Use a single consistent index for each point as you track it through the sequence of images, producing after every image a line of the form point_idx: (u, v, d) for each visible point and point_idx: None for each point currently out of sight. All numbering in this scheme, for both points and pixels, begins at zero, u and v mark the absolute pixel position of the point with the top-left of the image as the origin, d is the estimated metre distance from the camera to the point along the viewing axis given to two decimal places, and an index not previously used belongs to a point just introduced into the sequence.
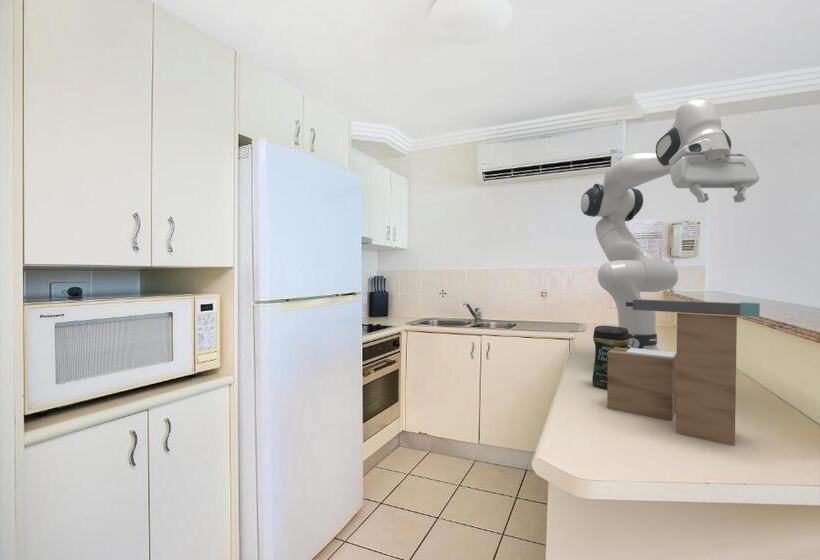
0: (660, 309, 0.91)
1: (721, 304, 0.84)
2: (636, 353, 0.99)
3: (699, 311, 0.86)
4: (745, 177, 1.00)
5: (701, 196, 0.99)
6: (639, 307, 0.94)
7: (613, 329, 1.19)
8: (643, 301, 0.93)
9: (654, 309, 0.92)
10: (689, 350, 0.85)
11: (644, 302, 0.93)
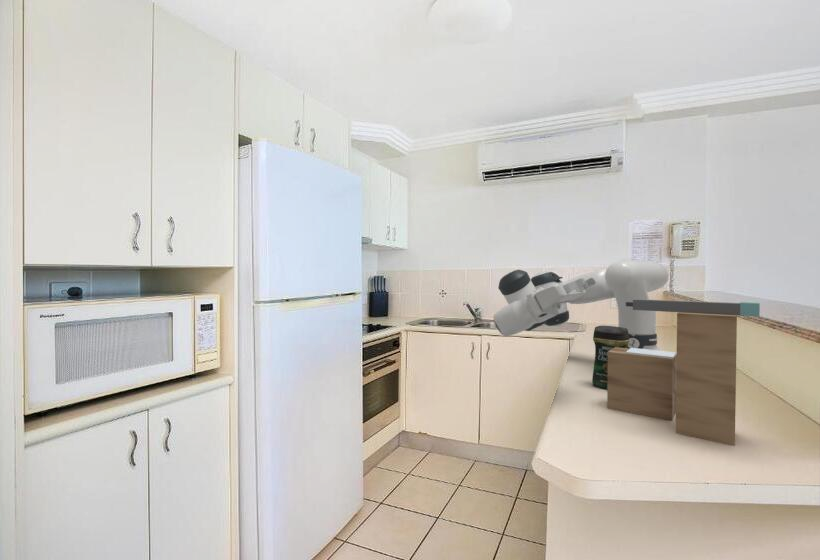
0: (660, 309, 0.91)
1: (721, 304, 0.84)
2: (636, 353, 0.99)
3: (699, 311, 0.86)
4: None
5: (578, 280, 1.02)
6: (639, 307, 0.94)
7: (613, 329, 1.19)
8: (643, 301, 0.93)
9: (654, 309, 0.92)
10: (689, 350, 0.85)
11: (644, 302, 0.93)
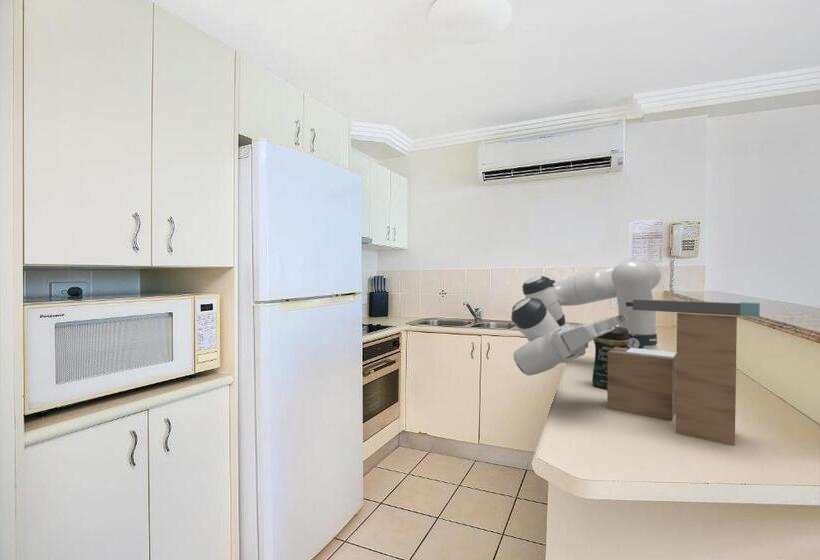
0: (660, 309, 0.91)
1: (721, 304, 0.84)
2: (636, 353, 0.99)
3: (699, 311, 0.86)
4: None
5: (609, 319, 0.93)
6: (639, 307, 0.94)
7: None
8: (643, 301, 0.93)
9: (654, 309, 0.92)
10: (689, 350, 0.85)
11: (644, 302, 0.93)
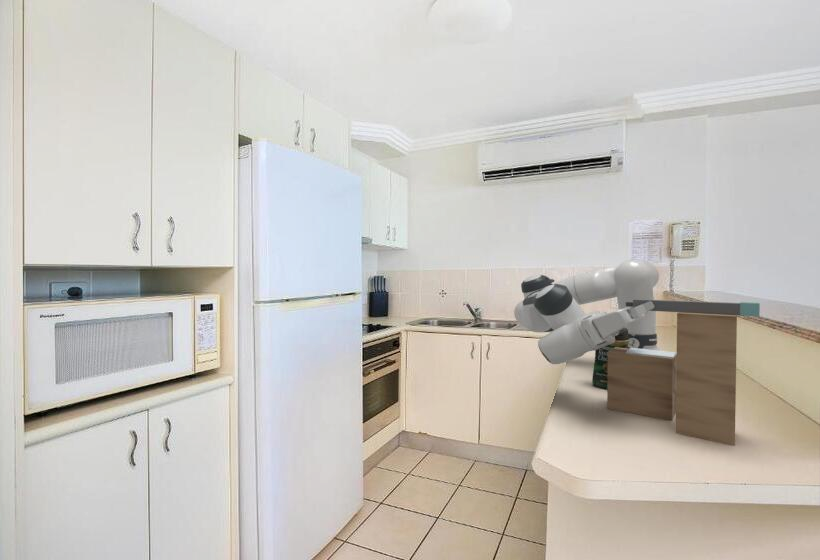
0: (660, 309, 0.91)
1: (721, 304, 0.84)
2: (636, 353, 0.99)
3: (699, 311, 0.86)
4: None
5: (646, 304, 0.91)
6: None
7: None
8: (643, 301, 0.93)
9: (654, 309, 0.92)
10: (689, 350, 0.85)
11: (644, 302, 0.93)
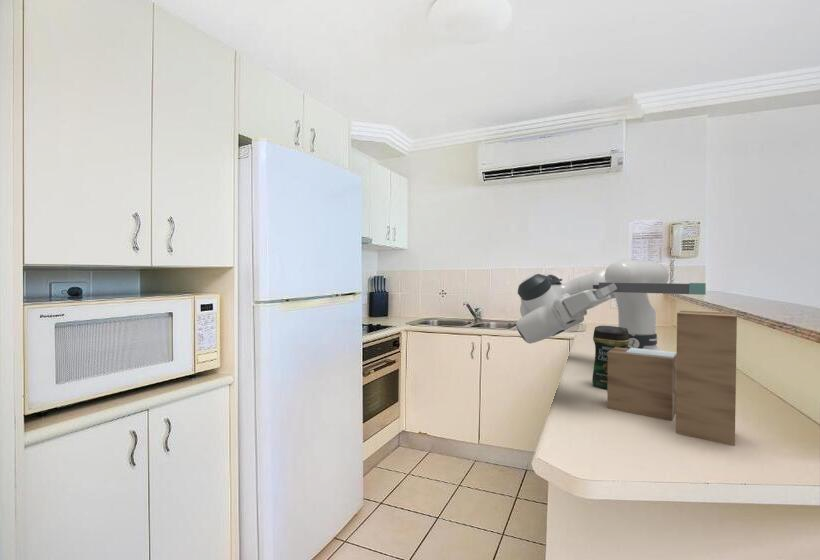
0: (622, 290, 1.02)
1: (673, 284, 0.95)
2: (636, 353, 0.99)
3: (655, 291, 0.97)
4: None
5: (610, 285, 1.02)
6: None
7: (613, 329, 1.19)
8: (607, 283, 1.04)
9: (617, 290, 1.03)
10: (689, 350, 0.85)
11: (608, 284, 1.04)
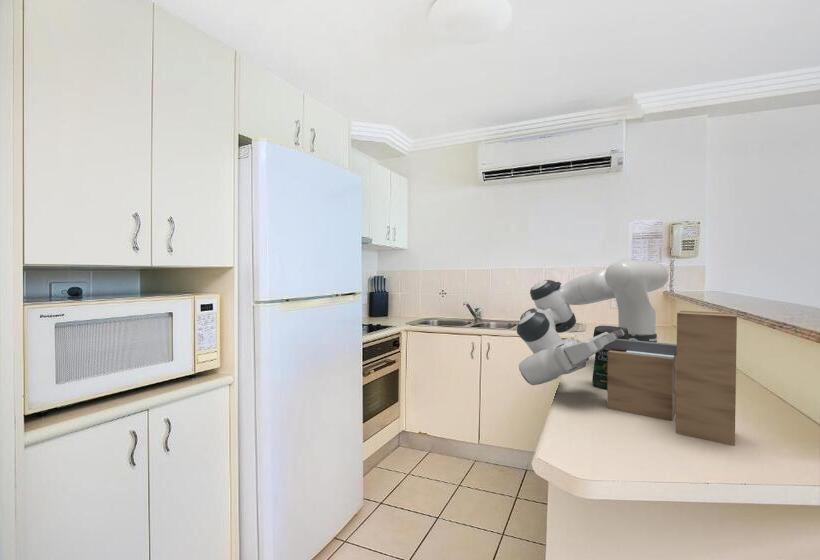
0: (622, 348, 1.03)
1: (673, 346, 0.96)
2: (636, 353, 0.99)
3: (655, 351, 0.99)
4: None
5: (609, 336, 1.02)
6: (605, 346, 1.06)
7: (613, 329, 1.19)
8: None
9: (617, 348, 1.04)
10: (689, 350, 0.85)
11: None
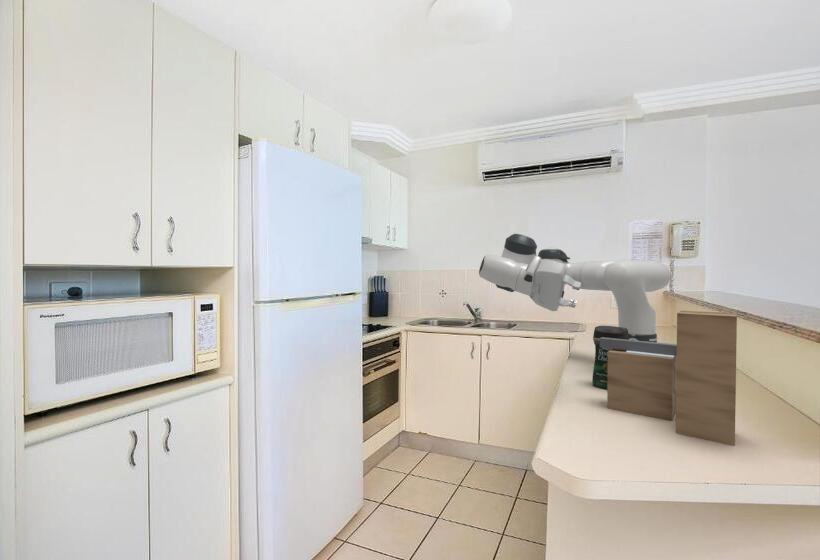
0: (622, 348, 1.03)
1: (673, 346, 0.96)
2: (636, 353, 0.99)
3: (655, 351, 0.99)
4: None
5: (577, 282, 1.10)
6: (605, 346, 1.06)
7: (613, 329, 1.19)
8: (608, 340, 1.05)
9: (617, 348, 1.04)
10: (689, 350, 0.85)
11: (609, 341, 1.05)
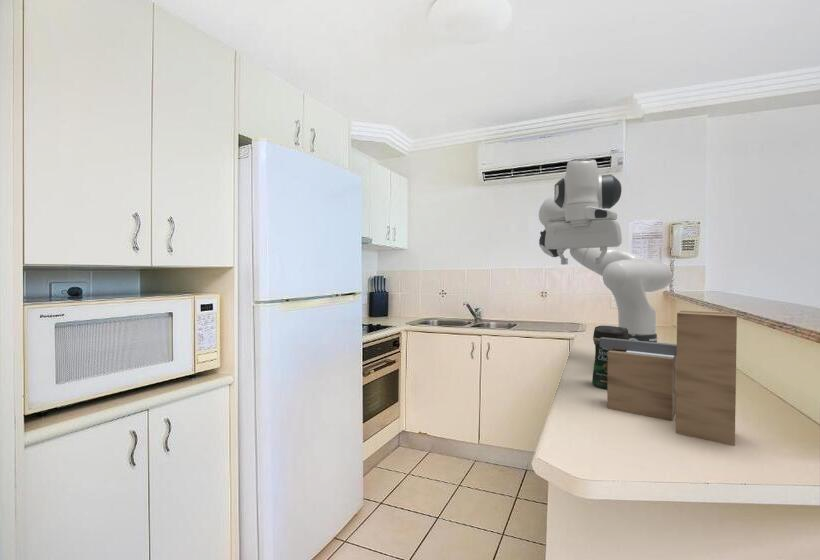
0: (622, 348, 1.03)
1: (673, 346, 0.96)
2: (636, 353, 0.99)
3: (655, 351, 0.99)
4: None
5: (602, 260, 1.11)
6: (605, 346, 1.06)
7: (613, 329, 1.19)
8: (608, 340, 1.05)
9: (617, 348, 1.04)
10: (689, 350, 0.85)
11: (609, 341, 1.05)
